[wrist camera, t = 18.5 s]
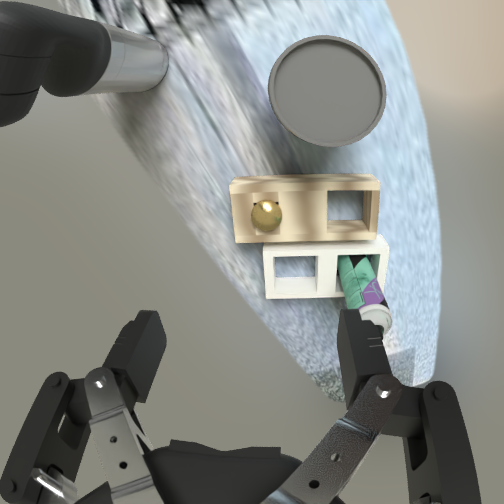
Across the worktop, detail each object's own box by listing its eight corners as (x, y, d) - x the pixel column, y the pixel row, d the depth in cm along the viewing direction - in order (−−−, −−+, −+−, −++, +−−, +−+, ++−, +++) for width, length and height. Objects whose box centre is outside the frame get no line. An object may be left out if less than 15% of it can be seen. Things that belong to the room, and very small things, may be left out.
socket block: (240, 229, 51) (235, 243, 47) (234, 177, 47) (229, 185, 43) (368, 226, 48) (376, 239, 44) (371, 173, 44) (380, 182, 40)
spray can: (353, 276, 53) (377, 359, 36) (329, 263, 52) (346, 345, 35) (372, 254, 51) (406, 332, 33) (347, 239, 50) (375, 316, 32)
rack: (267, 282, 56) (266, 298, 51) (264, 237, 51) (262, 251, 47) (375, 279, 53) (382, 294, 49) (381, 234, 49) (389, 247, 44)
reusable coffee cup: (263, 61, 38) (253, 43, 25) (347, 49, 36) (375, 29, 22) (282, 140, 44) (280, 158, 30) (363, 128, 41) (396, 142, 28)
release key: (255, 217, 49) (252, 231, 45) (253, 191, 47) (249, 202, 42) (283, 216, 49) (282, 230, 44) (281, 189, 47) (281, 201, 42)
